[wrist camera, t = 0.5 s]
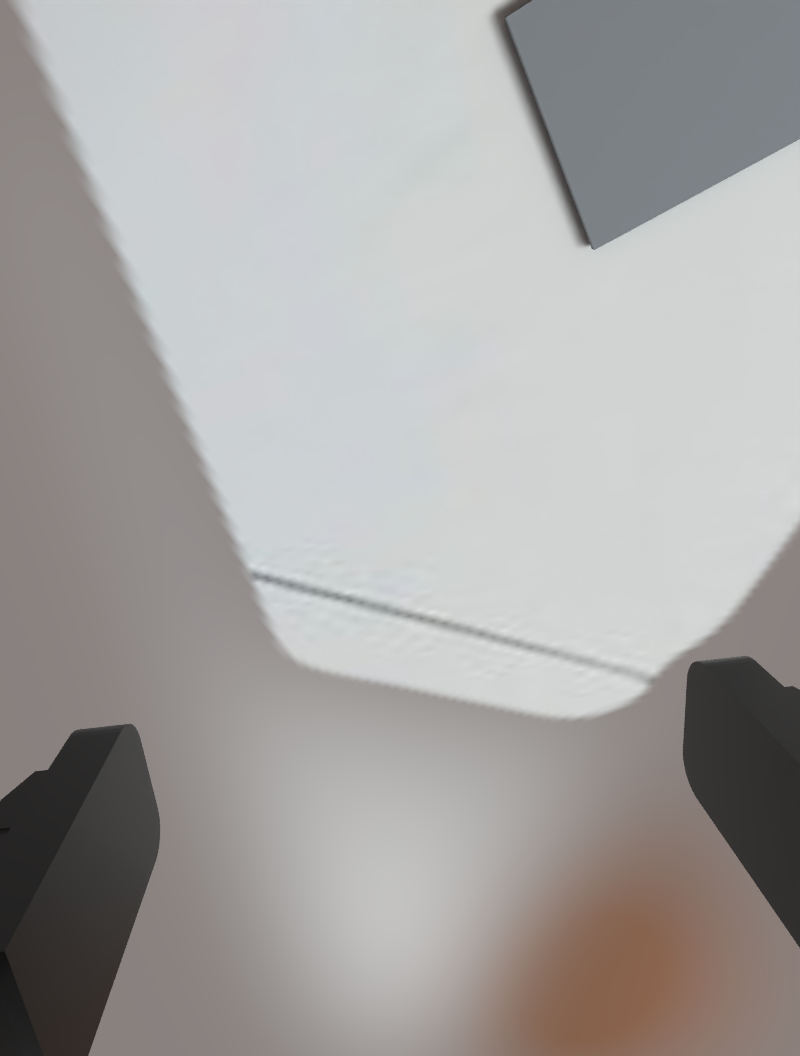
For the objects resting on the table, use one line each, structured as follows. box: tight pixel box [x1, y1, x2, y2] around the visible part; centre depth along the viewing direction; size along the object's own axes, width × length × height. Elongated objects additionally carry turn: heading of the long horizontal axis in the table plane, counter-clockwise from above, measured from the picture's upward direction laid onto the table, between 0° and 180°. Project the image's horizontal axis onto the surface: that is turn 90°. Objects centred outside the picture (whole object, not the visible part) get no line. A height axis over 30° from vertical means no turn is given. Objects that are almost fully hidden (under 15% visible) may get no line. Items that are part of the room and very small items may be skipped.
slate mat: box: [505, 0, 800, 250], centre depth 28 cm, size 10×12×1 cm
